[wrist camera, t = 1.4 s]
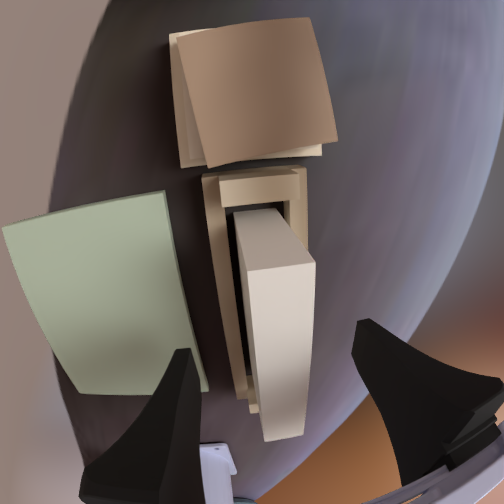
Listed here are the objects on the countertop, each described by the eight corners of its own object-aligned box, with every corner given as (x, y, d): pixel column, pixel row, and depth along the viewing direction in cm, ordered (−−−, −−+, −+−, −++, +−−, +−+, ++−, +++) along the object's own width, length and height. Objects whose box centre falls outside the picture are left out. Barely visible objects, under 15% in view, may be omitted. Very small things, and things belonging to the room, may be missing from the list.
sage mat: (81, 387, 17) (79, 393, 17) (7, 224, 12) (1, 227, 11) (208, 384, 18) (208, 391, 17) (164, 190, 13) (162, 192, 12)
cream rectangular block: (250, 363, 18) (264, 441, 12) (233, 211, 14) (246, 271, 8) (280, 358, 18) (303, 434, 12) (275, 207, 14) (315, 262, 8)
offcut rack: (224, 387, 18) (227, 422, 16) (172, 40, 10) (161, 18, 7) (309, 374, 19) (321, 406, 16) (304, 34, 10) (328, 13, 8)
